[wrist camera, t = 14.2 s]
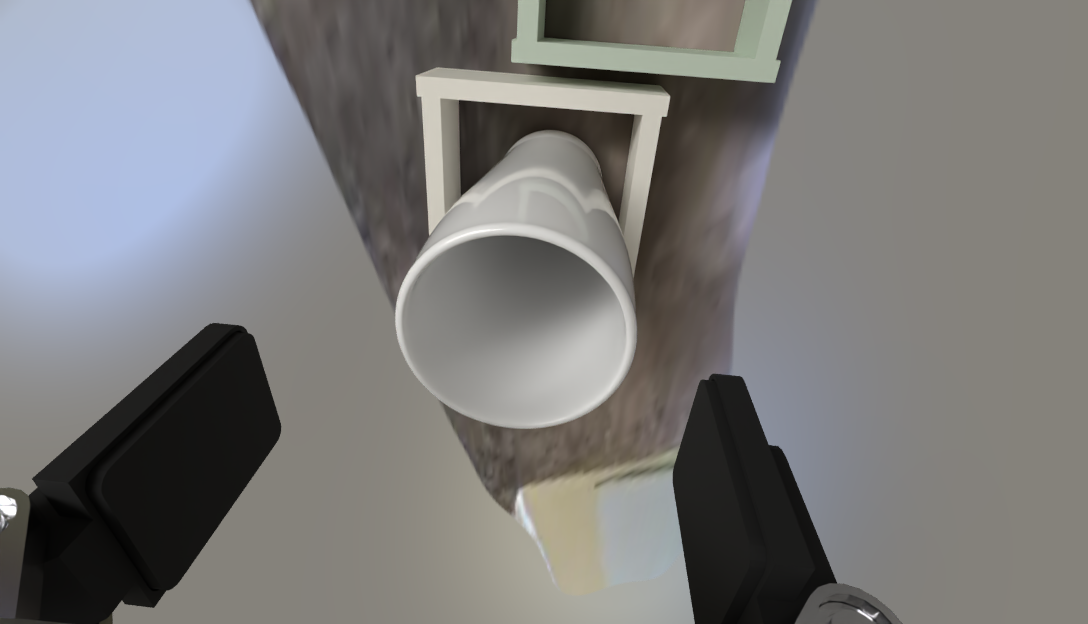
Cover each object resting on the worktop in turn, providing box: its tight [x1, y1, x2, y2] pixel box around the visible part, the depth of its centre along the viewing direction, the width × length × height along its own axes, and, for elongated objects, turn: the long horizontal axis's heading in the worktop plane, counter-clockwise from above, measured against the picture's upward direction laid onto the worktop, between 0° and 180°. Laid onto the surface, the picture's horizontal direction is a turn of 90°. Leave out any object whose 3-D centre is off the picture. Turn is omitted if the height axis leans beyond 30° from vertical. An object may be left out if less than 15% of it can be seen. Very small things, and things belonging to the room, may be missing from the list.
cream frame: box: [416, 67, 670, 278], centre depth 25 cm, size 10×11×4 cm
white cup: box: [395, 130, 637, 429], centre depth 20 cm, size 7×7×15 cm
